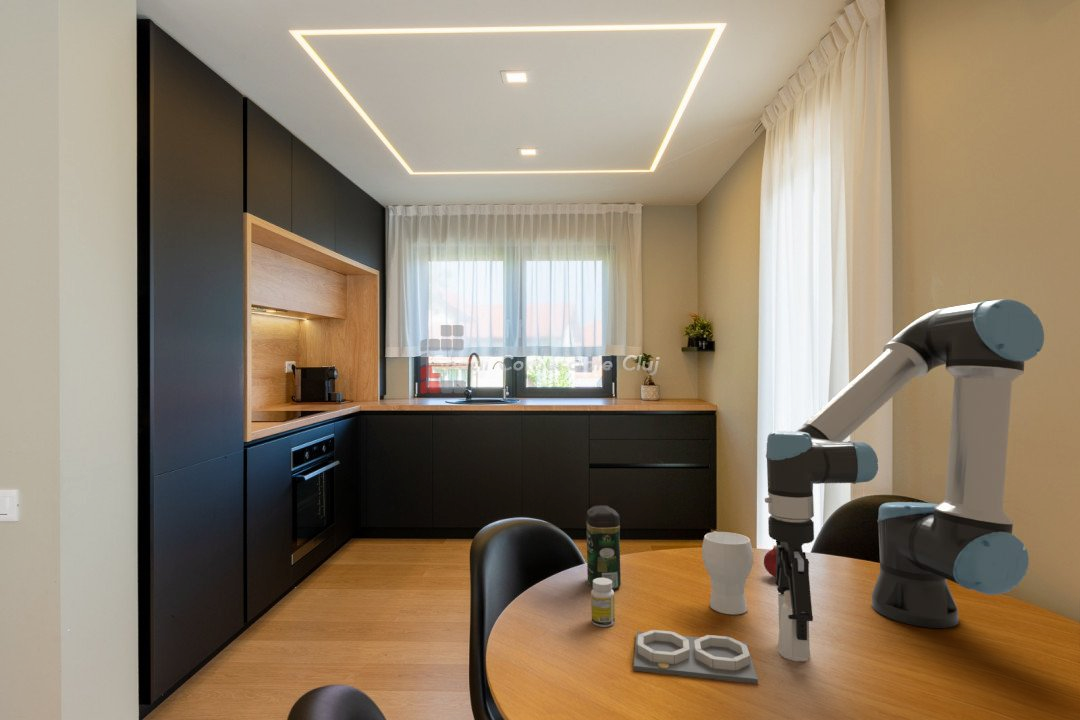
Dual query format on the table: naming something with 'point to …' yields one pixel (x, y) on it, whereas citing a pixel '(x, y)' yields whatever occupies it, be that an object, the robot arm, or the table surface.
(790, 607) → the pepper shaker
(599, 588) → the supplement bottle
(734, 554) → the cup
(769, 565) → the onion
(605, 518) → the coffee jar
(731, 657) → the collar board
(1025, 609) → the table surface
